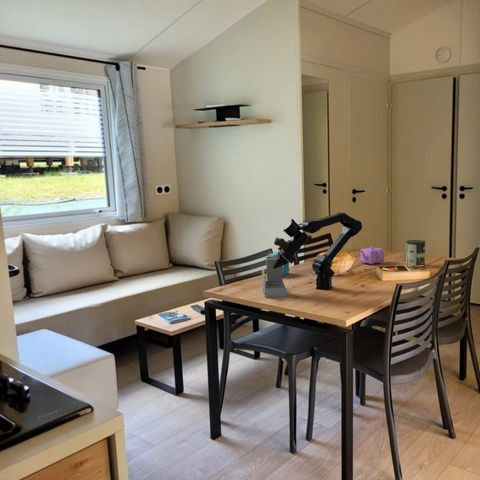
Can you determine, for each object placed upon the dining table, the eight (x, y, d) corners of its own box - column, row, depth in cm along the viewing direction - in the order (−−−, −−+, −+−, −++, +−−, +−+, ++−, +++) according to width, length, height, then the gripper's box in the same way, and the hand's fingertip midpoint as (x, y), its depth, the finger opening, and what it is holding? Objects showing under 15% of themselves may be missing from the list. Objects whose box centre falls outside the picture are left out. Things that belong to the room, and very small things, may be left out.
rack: (282, 288, 250) (282, 264, 248) (286, 296, 235) (286, 271, 233) (262, 289, 250) (261, 265, 248) (264, 297, 234) (264, 271, 233)
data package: (274, 277, 276) (273, 255, 274) (268, 276, 279) (267, 254, 278) (289, 273, 284) (288, 252, 282) (283, 272, 287) (282, 251, 286)
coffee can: (424, 264, 295) (425, 239, 293) (425, 267, 286) (425, 242, 284) (405, 263, 298) (406, 239, 296) (405, 267, 289) (406, 242, 287)
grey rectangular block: (281, 281, 243) (281, 256, 241) (282, 282, 240) (281, 257, 238) (267, 282, 243) (266, 256, 241) (267, 283, 240) (266, 258, 238)
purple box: (366, 267, 293) (366, 249, 292) (350, 263, 305) (350, 246, 304) (390, 263, 301) (390, 246, 300) (374, 260, 314) (374, 243, 312)
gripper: (281, 228, 247) (259, 252, 249) (286, 233, 229) (262, 259, 230) (298, 244, 249) (276, 267, 250) (304, 250, 230) (280, 276, 232)
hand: (273, 267), depth 241 cm, fingers closed on grey rectangular block, 3 cm apart
